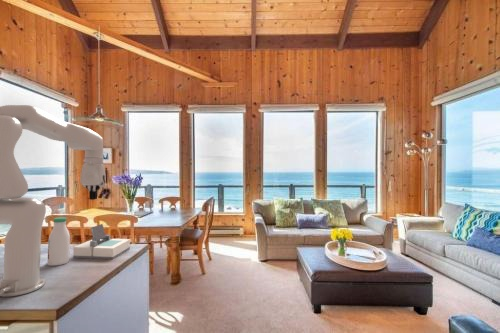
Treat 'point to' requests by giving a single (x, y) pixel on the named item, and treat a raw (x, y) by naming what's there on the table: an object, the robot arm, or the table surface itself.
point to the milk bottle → (59, 243)
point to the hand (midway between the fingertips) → (93, 199)
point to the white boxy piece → (102, 248)
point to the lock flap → (98, 233)
